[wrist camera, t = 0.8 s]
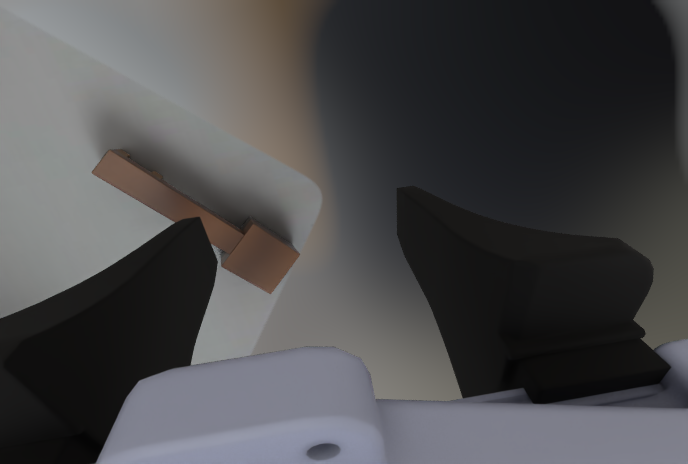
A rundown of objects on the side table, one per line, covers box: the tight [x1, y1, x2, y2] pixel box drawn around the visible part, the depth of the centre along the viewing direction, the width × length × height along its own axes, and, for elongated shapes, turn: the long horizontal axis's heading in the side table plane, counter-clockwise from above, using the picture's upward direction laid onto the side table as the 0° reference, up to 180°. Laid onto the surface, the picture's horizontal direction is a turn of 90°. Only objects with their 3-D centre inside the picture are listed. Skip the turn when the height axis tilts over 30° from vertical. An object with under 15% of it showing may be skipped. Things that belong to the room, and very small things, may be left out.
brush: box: [92, 149, 300, 294], centre depth 26 cm, size 16×4×3 cm, turn 50°
